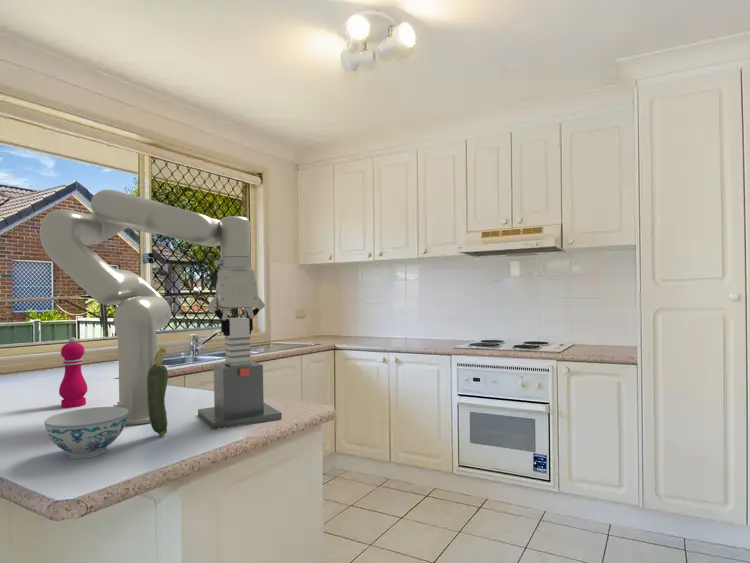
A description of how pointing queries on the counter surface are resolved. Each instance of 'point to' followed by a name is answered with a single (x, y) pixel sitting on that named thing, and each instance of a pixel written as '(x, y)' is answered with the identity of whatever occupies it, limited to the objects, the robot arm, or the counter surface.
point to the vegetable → (157, 393)
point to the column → (238, 342)
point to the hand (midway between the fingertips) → (237, 334)
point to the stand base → (238, 397)
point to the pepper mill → (73, 376)
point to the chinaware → (86, 429)
